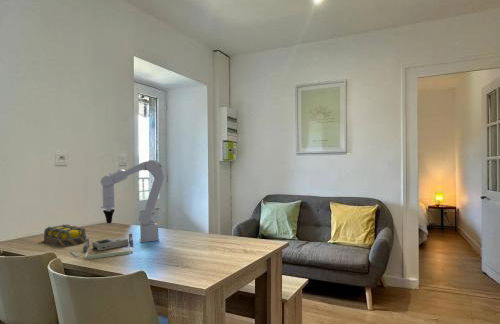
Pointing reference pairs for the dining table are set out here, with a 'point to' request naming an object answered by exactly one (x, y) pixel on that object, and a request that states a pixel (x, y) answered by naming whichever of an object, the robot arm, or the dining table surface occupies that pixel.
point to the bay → (108, 254)
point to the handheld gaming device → (110, 243)
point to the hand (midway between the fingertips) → (109, 223)
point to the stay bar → (74, 253)
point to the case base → (88, 242)
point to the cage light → (64, 235)
